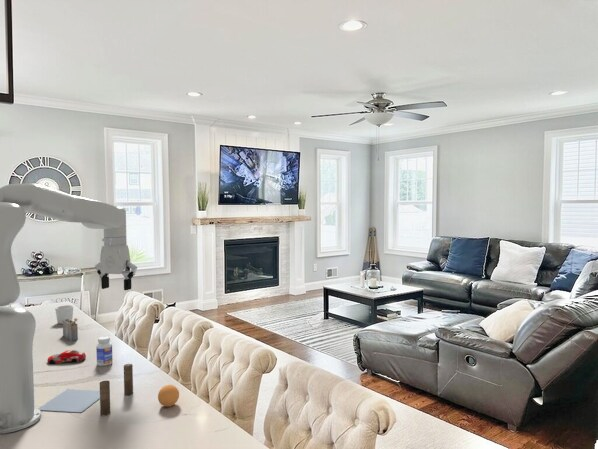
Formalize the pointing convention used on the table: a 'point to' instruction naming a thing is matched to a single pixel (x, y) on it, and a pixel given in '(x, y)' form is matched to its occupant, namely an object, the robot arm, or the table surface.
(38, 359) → the table surface
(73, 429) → the table surface
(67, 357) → the race car
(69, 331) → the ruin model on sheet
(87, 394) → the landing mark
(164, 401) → the ball
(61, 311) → the cup
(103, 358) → the pill bottle
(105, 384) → the gate post left
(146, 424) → the table surface
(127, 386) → the gate post right
